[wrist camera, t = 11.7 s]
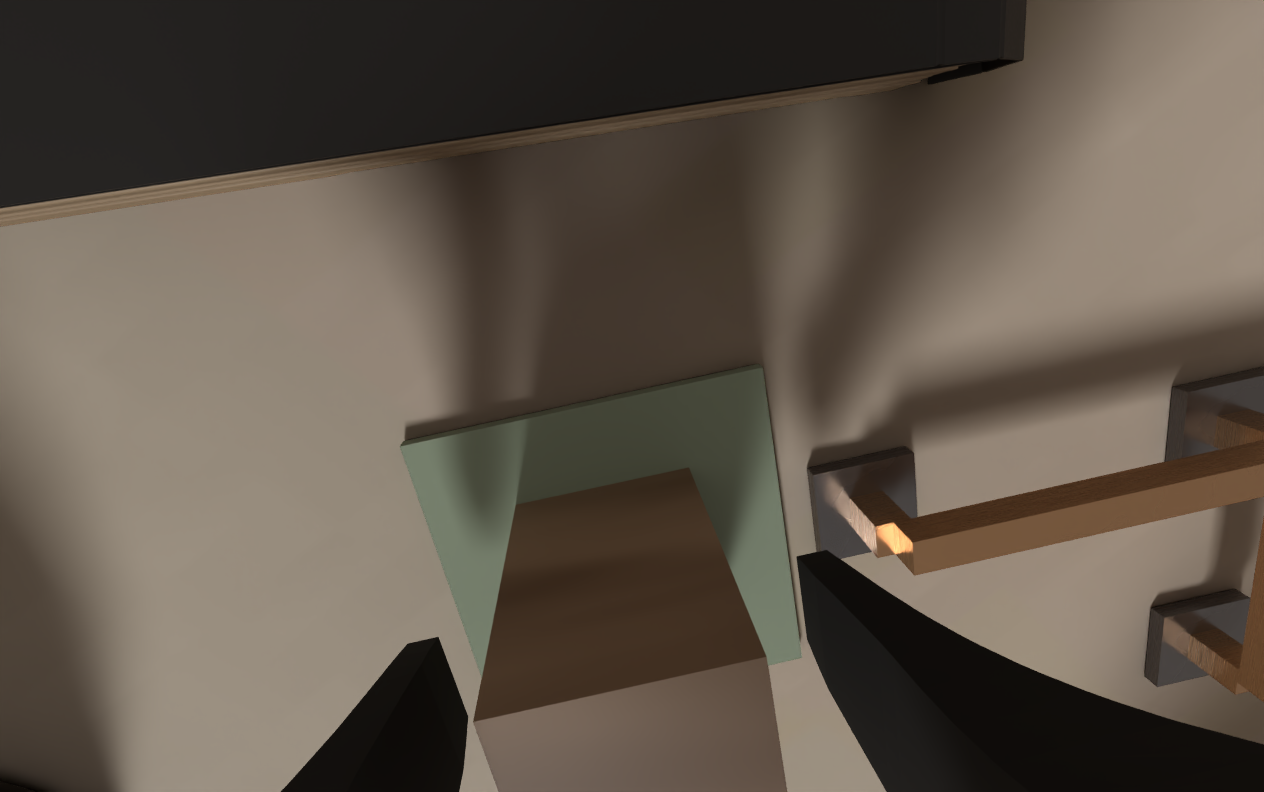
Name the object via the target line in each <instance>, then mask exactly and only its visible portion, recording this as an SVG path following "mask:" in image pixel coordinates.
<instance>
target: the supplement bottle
mask: <svg viewBox="0 0 1264 792" xmlns="http://www.w3.org/2000/svg"><path fill="white" fill-rule="evenodd" d="M0 792H34V791H32V790H29V789H26V788H23V787H20V786H17V785H13V784H9V783H5V782H0Z"/></svg>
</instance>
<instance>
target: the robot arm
mask: <svg viewBox="0 0 1264 792" xmlns="http://www.w3.org/2000/svg"><path fill="white" fill-rule="evenodd" d="M797 564H798V572H799V579H800V587H801V595H802V603H803V610H804V618H805V626H806V633H807V640H808V642H809V645H810V647H811V650H812V652H813V655H814V657H815V659H816V662H817V664H818V666H819V669H820V671H821V673H822V676H823V678H824V680H825V683H826V685H827V687H828V689H829V691H830V693H831V694H832V696H833V698H834V700H835V702H836V703H837V705H838V707H839V709H840V711H841V712H842V714H843V716H844V718H845V719H846V721H847V723H848V725H849V727H850V728H851V730H852V732H853V734H854V735H855V737H856V739H857V741H858V742H859V744H860V746H861V748H862V749H863V751H864V753H865V755H866V756H867V758H868V760H869V762H870V763H871V765H872V767H873V769H874V770H875V772H876V774H877V776H878V777H879V779H880V781H881V783H882V784H883V786H884V788H885V790H886V791H887V792H1264V745H1263V744H1260V743H1256V742H1252V741H1248V740H1245V739H1241V738H1237V737H1233V736H1230V735H1226V734H1222V733H1218V732H1215V731H1211V730H1207V729H1204V728H1200V727H1196V726H1192V725H1189V724H1185V723H1181V722H1178V721H1174V720H1171V719H1168V718H1164V717H1161V716H1158V715H1155V714H1152V713H1149V712H1146V711H1143V710H1140V709H1137V708H1133V707H1130V706H1127V705H1124V704H1121V703H1118V702H1115V701H1112V700H1110V699H1107V698H1104V697H1101V696H1098V695H1096V694H1093V693H1090V692H1087V691H1084V690H1082V689H1079V688H1077V687H1074V686H1072V685H1069V684H1067V683H1064V682H1062V681H1059V680H1057V679H1054V678H1052V677H1049V676H1047V675H1044V674H1041V673H1039V672H1037V671H1034V670H1032V669H1030V668H1028V667H1025V666H1023V665H1021V664H1018V663H1016V662H1014V661H1012V660H1010V659H1008V658H1006V657H1003V656H1001V655H999V654H997V653H995V652H993V651H991V650H989V649H987V648H985V647H982V646H980V645H978V644H976V643H974V642H972V641H971V640H969V639H967V638H965V637H963V636H961V635H959V634H957V633H955V632H954V631H952V630H950V629H948V628H947V627H945V626H943V625H941V624H939V623H938V622H936V621H934V620H932V619H931V618H929V617H927V616H925V615H924V614H922V613H920V612H919V611H917V610H916V609H914V608H912V607H911V606H909V605H908V604H906V603H904V602H903V601H901V600H900V599H898V598H897V597H895V596H893V595H892V594H890V593H889V592H887V591H886V590H884V589H883V588H881V587H880V586H878V585H877V584H875V583H874V582H872V581H871V580H870V579H868V578H867V577H865V576H864V575H862V574H861V573H859V572H858V571H857V570H855V569H854V568H852V567H851V566H849V565H848V564H847V563H845V562H844V561H842V560H841V559H839V558H838V557H836V556H835V555H833V554H832V553H830V552H829V551H828V550H824V551H819V552H815V553H810V554H806V555H801V556H797ZM467 724H468V715H467V712H466V710H465V707H464V704H463V702H462V699H461V696H460V694H459V691H458V688H457V685H456V683H455V680H454V677H453V675H452V672H451V669H450V667H449V664H448V661H447V659H446V656H445V653H444V651H443V648H442V645H441V643H440V640H439V637H436V638H431V639H427V640H422V641H418V642H413V643H409V644H407V645H406V646H405V648H404V649H403V650H402V651H401V652H400V653H399V654H398V656H397V657H396V658H395V659H394V660H393V662H392V663H391V664H390V665H389V666H388V668H387V669H386V670H385V671H384V673H383V674H382V675H381V676H380V678H379V679H378V680H377V681H376V682H375V684H374V685H373V686H372V687H371V689H370V690H369V691H368V692H367V694H366V695H365V696H364V697H363V698H362V700H361V701H360V702H359V703H358V704H357V706H356V707H355V708H354V709H353V710H352V712H351V713H350V714H349V715H348V717H347V718H346V719H345V720H344V721H343V723H342V724H341V725H340V726H339V727H338V729H337V730H336V731H335V732H334V733H333V734H332V736H331V737H330V738H329V739H328V740H327V741H326V742H325V743H324V744H323V746H322V747H321V748H320V749H319V750H318V751H317V752H316V753H315V755H314V756H313V757H312V758H311V759H310V760H309V761H308V762H307V764H306V765H305V766H304V767H303V768H302V769H301V770H300V771H299V772H298V774H297V775H296V776H295V777H294V778H293V779H292V780H291V781H290V782H289V784H288V785H287V786H286V787H285V788H284V789H283V790H282V791H281V792H459V789H460V785H461V780H462V775H463V768H464V759H465V749H466V737H467Z"/></svg>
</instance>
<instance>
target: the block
mask: <svg viewBox="0 0 1264 792" xmlns="http://www.w3.org/2000/svg"><path fill="white" fill-rule="evenodd" d="M473 723H474V726H475V728H476V731H477V734H478V737H479V739H480V742H481V745H482V748H483V750H484V753H485V756H486V759H487V761H488V764H489V767H490V770H491V772H492V775H493V778H494V780H495V783H496V786H497V789H498V791H499V792H787V787H786V781H785V774H784V768H783V761H782V754H781V748H780V741H779V735H778V728H777V721H776V715H775V708H774V702H773V695H772V689H771V682H770V675H769V669H768V662H767V656H766V654H765V651H764V649H763V647H762V644H761V642H760V639H759V637H758V634H757V632H756V630H755V627H754V625H753V622H752V620H751V617H750V615H749V612H748V610H747V608H746V605H745V603H744V600H743V598H742V595H741V593H740V591H739V588H738V586H737V583H736V581H735V578H734V576H733V574H732V571H731V569H730V566H729V564H728V561H727V559H726V556H725V554H724V552H723V549H722V547H721V544H720V542H719V539H718V537H717V535H716V532H715V530H714V527H713V525H712V522H711V520H710V517H709V515H708V513H707V510H706V508H705V505H704V503H703V500H702V498H701V496H700V493H699V491H698V488H697V486H696V483H695V481H694V479H693V476H692V474H691V471H690V469H689V467H688V468H684V469H679V470H675V471H670V472H665V473H661V474H656V475H651V476H647V477H642V478H637V479H633V480H628V481H624V482H619V483H614V484H610V485H605V486H600V487H596V488H591V489H587V490H582V491H577V492H573V493H568V494H563V495H559V496H554V497H549V498H545V499H540V500H536V501H531V502H526V503H522V504H517V505H516V506H515V511H514V516H513V521H512V526H511V531H510V537H509V542H508V547H507V552H506V557H505V562H504V567H503V572H502V578H501V583H500V588H499V593H498V598H497V603H496V608H495V613H494V618H493V624H492V629H491V634H490V639H489V644H488V649H487V654H486V659H485V664H484V670H483V675H482V680H481V685H480V690H479V695H478V700H477V705H476V711H475V716H474V721H473Z"/></svg>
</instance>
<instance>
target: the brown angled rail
mask: <svg viewBox="0 0 1264 792" xmlns="http://www.w3.org/2000/svg"><path fill="white" fill-rule="evenodd" d="M807 473H808V482H809V490H810V499H811V507H812V516H813V524H814V533H815V541H816V550H817V552H819V551H824V550H828V551H829V552H830V553H832V554H833V555H835V556H836V557H838V558H839V559H842V558H846V557H850V556H855V555H859V554H864V553H868V552H873V553H874V554H875V555H876V557H877V558H880V557H884V556H888V555H893V554H896V555H897V556H898V558H899V559H900V560H901V561H902V562H903V563H904V564H905V565H906V567H907V568H908V569H909V570H910V571H911V572H912V573H913V575H919V574H923V573H928V572H932V571H937V570H941V569H945V568H950V567H954V566H959V565H963V564H968V563H972V562H976V561H981V560H985V559H990V558H994V557H999V556H1003V555H1007V554H1012V553H1016V552H1021V551H1025V550H1030V549H1034V548H1038V547H1043V546H1047V545H1052V544H1056V543H1061V542H1065V541H1070V540H1074V539H1078V538H1083V537H1087V536H1092V535H1096V534H1101V533H1105V532H1109V531H1114V530H1118V529H1123V528H1127V527H1132V526H1136V525H1140V524H1145V523H1149V522H1154V521H1158V520H1163V519H1167V518H1171V517H1176V516H1180V515H1185V514H1189V513H1194V512H1198V511H1202V510H1207V509H1211V508H1216V507H1220V506H1225V505H1229V504H1234V503H1238V502H1242V501H1247V500H1251V499H1256V498H1260V497H1264V367H1261V368H1256V369H1252V370H1247V371H1243V372H1238V373H1234V374H1229V375H1225V376H1220V377H1216V378H1211V379H1207V380H1202V381H1198V382H1193V383H1189V384H1184V385H1180V386H1175V387H1172V397H1171V408H1170V418H1169V428H1168V439H1167V449H1166V459H1165V462H1162V463H1157V464H1153V465H1148V466H1144V467H1139V468H1135V469H1130V470H1126V471H1122V472H1117V473H1113V474H1108V475H1104V476H1099V477H1095V478H1090V479H1086V480H1081V481H1077V482H1072V483H1068V484H1063V485H1059V486H1055V487H1050V488H1046V489H1041V490H1037V491H1032V492H1028V493H1023V494H1019V495H1014V496H1010V497H1005V498H1001V499H996V500H992V501H988V502H983V503H979V504H974V505H970V506H965V507H961V508H956V509H952V510H947V511H943V512H938V513H934V514H929V515H925V516H921V517H917V501H916V482H915V463H914V453H913V452H912V451H911V450H909V449H908V448H907V447H905V446H904V447H900V448H895V449H891V450H886V451H882V452H877V453H873V454H868V455H864V456H859V457H855V458H850V459H846V460H841V461H837V462H832V463H828V464H823V465H819V466H814V467H810V468H807ZM1249 604H1250V606H1249ZM1248 611H1249V612H1248ZM1247 617H1248V618H1247ZM1246 623H1247V624H1246ZM1245 629H1246V631H1245ZM1244 636H1245V637H1244ZM1243 642H1244V643H1243ZM1207 675H1210V676H1211V677H1213V678H1214V679H1215V680H1217V681H1218V682H1219V683H1221V684H1222V685H1223V686H1225V687H1226V688H1227V689H1229V690H1230V691H1231V692H1233V693H1234V694H1235V695H1236V694H1240V693H1244V692H1251V693H1252V694H1253V695H1255V696H1256V697H1257V698H1259V699H1260V700H1262V701H1263V702H1264V518H1263V524H1262V531H1261V537H1260V543H1259V549H1258V556H1257V562H1256V568H1255V574H1254V581H1253V587H1252V593H1251V599H1250V597H1248V596H1246V595H1245V594H1243V593H1241V592H1240V591H1238V590H1236V589H1233V590H1228V591H1224V592H1220V593H1215V594H1211V595H1206V596H1202V597H1198V598H1193V599H1189V600H1184V601H1180V602H1176V603H1171V604H1167V605H1163V606H1158V607H1154V608H1151V615H1150V626H1149V636H1148V647H1147V657H1146V667H1145V677H1146V678H1147V679H1148V680H1150V681H1151V682H1152V683H1153V684H1154V685H1155V686H1157V687H1159V686H1163V685H1168V684H1172V683H1176V682H1181V681H1185V680H1189V679H1194V678H1198V677H1202V676H1207Z"/></svg>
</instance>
